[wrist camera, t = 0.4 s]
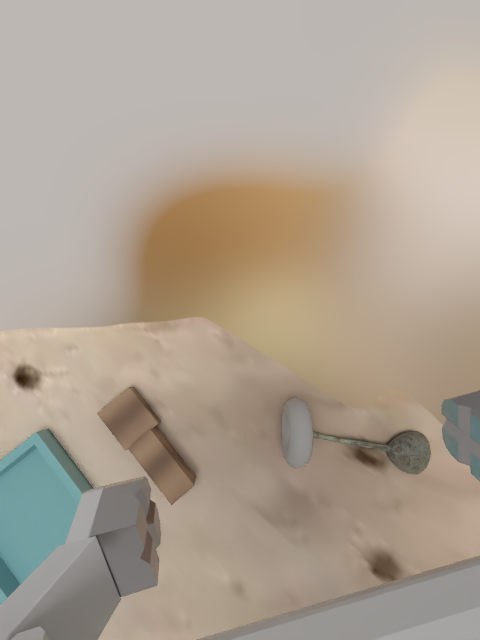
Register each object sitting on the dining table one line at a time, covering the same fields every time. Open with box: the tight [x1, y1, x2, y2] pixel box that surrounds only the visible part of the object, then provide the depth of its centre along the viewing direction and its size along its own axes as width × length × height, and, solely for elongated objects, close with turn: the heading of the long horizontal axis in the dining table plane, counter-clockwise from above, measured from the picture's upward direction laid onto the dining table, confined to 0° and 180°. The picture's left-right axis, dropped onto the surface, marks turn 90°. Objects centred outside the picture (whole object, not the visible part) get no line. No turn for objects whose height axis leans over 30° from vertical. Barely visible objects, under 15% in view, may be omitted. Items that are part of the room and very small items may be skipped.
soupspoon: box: [313, 431, 431, 474], centre depth 60 cm, size 22×3×7 cm
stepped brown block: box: [97, 387, 196, 505], centre depth 56 cm, size 17×6×5 cm, turn 40°
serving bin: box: [0, 429, 93, 605], centre depth 54 cm, size 24×16×4 cm
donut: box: [281, 398, 313, 468], centre depth 56 cm, size 10×4×10 cm, turn 179°
